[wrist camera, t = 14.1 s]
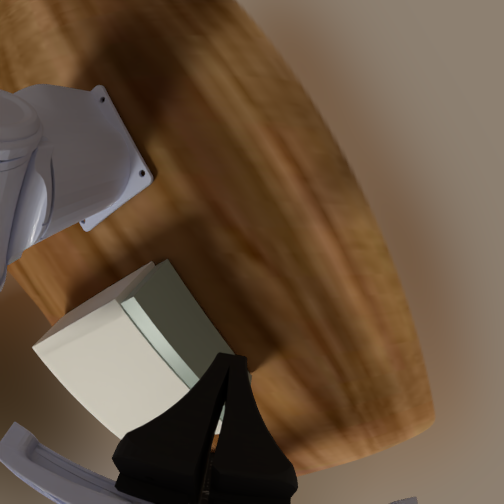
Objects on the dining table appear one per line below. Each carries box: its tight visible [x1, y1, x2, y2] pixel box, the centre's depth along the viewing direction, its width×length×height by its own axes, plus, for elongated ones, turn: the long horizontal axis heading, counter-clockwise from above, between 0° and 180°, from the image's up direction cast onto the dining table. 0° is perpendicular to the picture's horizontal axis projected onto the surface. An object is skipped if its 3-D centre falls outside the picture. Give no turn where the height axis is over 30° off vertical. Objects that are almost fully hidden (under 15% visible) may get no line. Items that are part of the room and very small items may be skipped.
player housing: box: [32, 261, 223, 439], centre depth 22 cm, size 14×14×6 cm
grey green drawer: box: [121, 259, 252, 420], centre depth 22 cm, size 13×13×6 cm
